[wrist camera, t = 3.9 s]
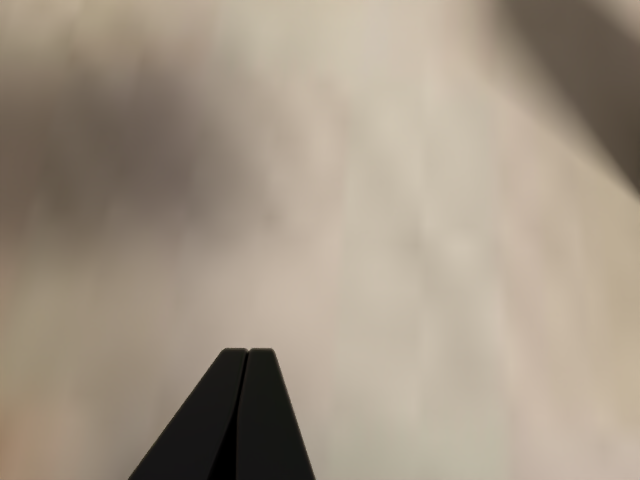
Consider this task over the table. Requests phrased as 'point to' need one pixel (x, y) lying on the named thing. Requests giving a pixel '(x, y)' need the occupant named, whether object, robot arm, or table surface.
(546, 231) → the table surface
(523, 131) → the table surface
